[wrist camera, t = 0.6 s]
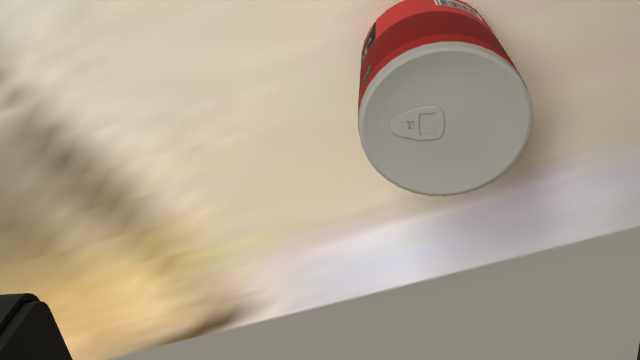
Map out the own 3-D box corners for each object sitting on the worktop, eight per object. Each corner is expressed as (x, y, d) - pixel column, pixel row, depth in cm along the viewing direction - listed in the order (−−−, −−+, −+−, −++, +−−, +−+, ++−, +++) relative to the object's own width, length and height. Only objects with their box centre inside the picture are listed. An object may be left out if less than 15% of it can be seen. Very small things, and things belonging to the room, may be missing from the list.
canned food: (343, 19, 37) (333, 81, 27) (473, -31, 35) (511, 17, 25) (385, 128, 40) (388, 217, 30) (505, 88, 38) (550, 170, 28)
